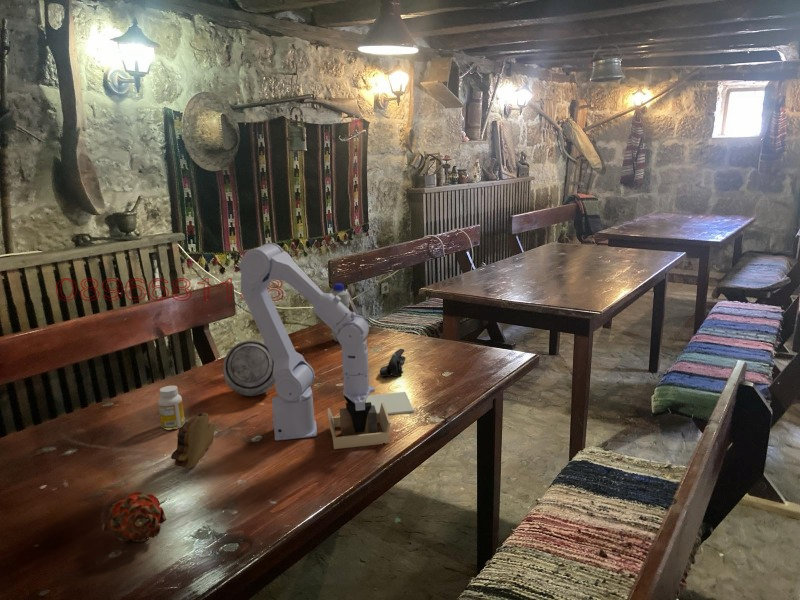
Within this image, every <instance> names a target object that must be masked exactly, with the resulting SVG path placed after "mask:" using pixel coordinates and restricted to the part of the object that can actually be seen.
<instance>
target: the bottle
mask: <svg viewBox="0 0 800 600" xmlns="http://www.w3.org/2000/svg"><path fill="white" fill-rule="evenodd" d="M331 293H332V294H333V295H334V296H337V295H338V296H339V297H340V298H341V300H340V302H342V303H343V304H344V305H345V306H346V307H347V308H348V309H349V308H350V297H349V292H348V291H346V290H345V286H344V284H343V283H339V282H338V283H334V285H333V291H332V292H331ZM349 310H350V309H349ZM347 315H348V314H347ZM331 335H332V339H333V340H334V341H335V342H339V341H338V339H337V335H338V334H337V333H336V332H334V331H333V330H332V329H331Z"/></svg>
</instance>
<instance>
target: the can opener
mask: <svg viewBox="0 0 800 600" xmlns="http://www.w3.org/2000/svg"><path fill="white" fill-rule="evenodd" d="M404 352H405V349H403V348H399V349H397V350H396V351H394V353H393V354H392V355H391V357H390V359H389V361H388V363H387V365H384V366H381V368H380V369H379V375H380V377H390V376H393V377H397V376H401V375H403V373H404V371H403V365H404V364H405V361H406V358H407V357H406V356H405V355H403V353H404Z"/></svg>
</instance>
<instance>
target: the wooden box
mask: <svg viewBox="0 0 800 600" xmlns="http://www.w3.org/2000/svg"><path fill="white" fill-rule="evenodd" d="M326 409H327V415H328V416H327V417H328V423H329V431H330V434H331V436H332V437H331V438H332V444H333V450H338V449H347V448H356V447H367V446H375V445H383V443H385V444H390V435H389V434H390V433H389V432H390V428H391V423H392V422H391V420H390V415H388V414H387V411H386V408H385V405H384V403H381V407H380V411H379V412H377V424H380V428H381V431H380V432H377V433H370V434H361V435H351V436H337V435H336V428H341V424H340V415H337V416H333V414H332V411H331V408H330V407H328V408H326Z"/></svg>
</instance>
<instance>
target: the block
mask: <svg viewBox="0 0 800 600" xmlns="http://www.w3.org/2000/svg"><path fill="white" fill-rule="evenodd" d="M339 416H340V424H341V427H340V434H341V436H340V437H342V436H351V435H361V434H370V433H378V423H377V412H376V409H375V406H374V405H372V406H371V409H370V411H369V413H368V416H367V420H366V427H365V431H364V432H357V433H356V432H355V430H354V426H353V422H352V418H351V415H350V413H349V412H348V410H347V408H346V407H344V408H342V407H341V408H339Z"/></svg>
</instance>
